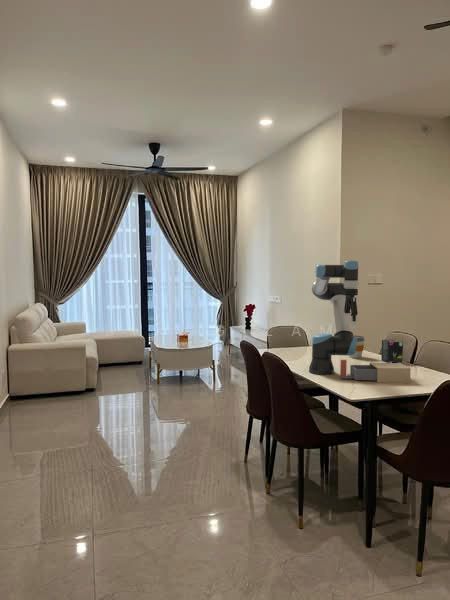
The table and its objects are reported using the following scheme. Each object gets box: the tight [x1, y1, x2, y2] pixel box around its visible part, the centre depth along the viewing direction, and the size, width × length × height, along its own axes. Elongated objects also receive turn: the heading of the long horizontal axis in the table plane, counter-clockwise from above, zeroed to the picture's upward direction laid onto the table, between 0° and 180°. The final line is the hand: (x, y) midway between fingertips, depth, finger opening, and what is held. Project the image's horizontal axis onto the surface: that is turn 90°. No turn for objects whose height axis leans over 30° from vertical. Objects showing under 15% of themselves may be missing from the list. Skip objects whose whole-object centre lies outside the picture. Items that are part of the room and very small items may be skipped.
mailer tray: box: [339, 359, 377, 381], centre depth 252 cm, size 24×12×10 cm, turn 88°
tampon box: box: [380, 339, 404, 363], centre depth 304 cm, size 11×9×15 cm
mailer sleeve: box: [369, 362, 412, 383], centre depth 252 cm, size 18×15×8 cm
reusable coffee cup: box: [348, 335, 365, 359], centre depth 320 cm, size 12×13×15 cm
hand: (350, 326), depth 249 cm, fingers open, 13 cm apart
